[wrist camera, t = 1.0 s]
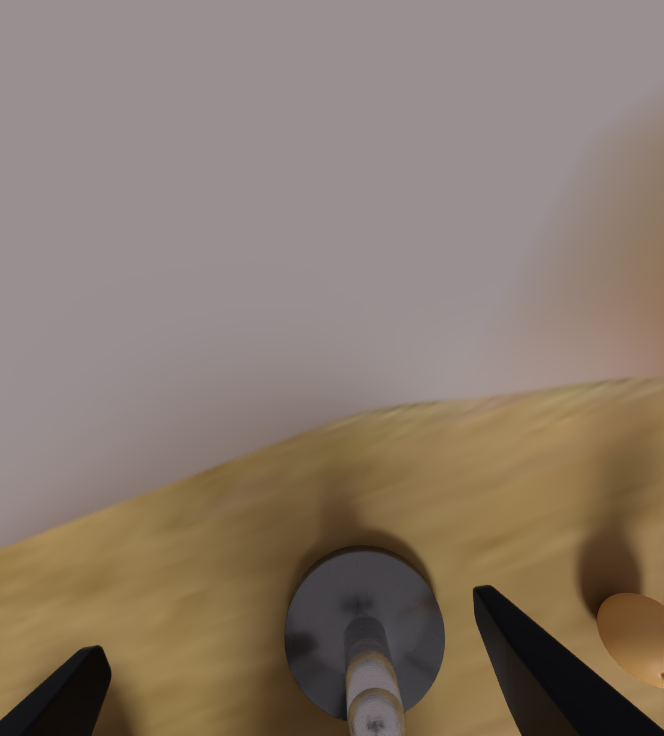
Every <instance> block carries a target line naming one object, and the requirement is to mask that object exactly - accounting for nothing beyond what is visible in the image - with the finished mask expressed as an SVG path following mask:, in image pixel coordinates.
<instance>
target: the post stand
mask: <svg viewBox="0 0 664 736" xmlns="http://www.w3.org/2000/svg"><path fill="white" fill-rule="evenodd" d="M284 637H285V651H286V657H287V661H288V664H289V667H290V670H291V672H292V675H293V677H294V679H295V681H296V682H297V684H298V686H299V687H300V689H301V690H302V691H303V693H304V694H305V695H306V696H307V698H308V699H310V700H311V701H312V702H313V703H314V704H315V705H316V706H317V707H319V708H320V709H321V710H323V711H324V712H326V713H328V714H330V715H332V716H334V717H336V718H339V719H342V720H345V721H348V728H349V732H350V735H351V736H404V734H405V715H404V712H406V711H407V710H409V709H410V708H411V707H413V706H414V705H415V704H416V703H417V702H419V701H420V700H421V699H422V698H423V696H424V695H425V694H426V693H427V691H428V690H429V689H430V687H431V686H432V684H433V682H434V681H435V679H436V676H437V674H438V672H439V670H440V666H441V663H442V660H443V654H444V647H445V631H444V623H443V618H442V614H441V611H440V608H439V605H438V603H437V601H436V599H435V597H434V595H433V593H432V591H431V589H430V587H429V585H428V584H427V582H426V581H425V579H424V577H423V576H422V575H421V574H420V572H419V571H418V570H417V569H416V568H415V567H414V566H413V565H412V564H411V563H409V562H408V561H407V560H405V559H404V558H403V557H401V556H399V555H397V554H395V553H394V552H391V551H389V550H386V549H383V548H379V547H374V546H351V547H346V548H342V549H339V550H336V551H334V552H332V553H330V554H328V555H326V556H324V557H323V558H321V559H320V560H318V561H317V562H316V563H315V564H314V565H313V566H312V567H310V568H309V570H308V571H307V572H306V573H305V574H304V575H303V577H302V578H301V580H300V581H299V583H298V585H297V587H296V589H295V591H294V593H293V595H292V598H291V601H290V605H289V609H288V614H287V619H286V624H285V636H284Z"/></svg>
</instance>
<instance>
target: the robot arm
mask: <svg viewBox="0 0 664 736" xmlns="http://www.w3.org/2000/svg"><path fill="white" fill-rule="evenodd" d="M473 601H474V614H475V619H476V623H477V626H478V629H479V631H480V634H481V637H482V639H483V642H484V645H485V647H486V650H487V653H488V655H489V658H490V660H491V663H492V666H493V668H494V671H495V674H496V676H497V679H498V682H499V684H500V687H501V690H502V692H503V695H504V697H505V700H506V702H507V705H508V707H509V710H510V712H511V714H512V716H513V718H514V721H515V723H516V725H517V727H518V729H519V731H520V733H521V735H522V736H664V730H663V729H662V728H661V727H659V726H658V725H657V724H656V723H655V722H654V721H652V720H651V719H650V718H649V717H648V716H646V715H645V714H644V713H643V712H642V711H640V710H639V709H638V708H637V707H636V706H634V705H633V704H632V703H631V702H630V701H629V700H627V699H626V698H625V697H624V696H623V695H621V694H620V693H619V692H618V691H617V690H615V689H614V688H613V687H612V686H611V685H609V684H608V683H607V682H606V681H605V680H604V679H602V678H601V677H600V676H599V675H598V674H596V673H595V672H594V671H593V670H592V669H590V668H589V667H588V666H587V665H586V664H584V663H583V662H582V661H581V660H580V659H578V658H577V657H576V656H575V655H574V654H573V653H571V652H570V651H569V650H568V649H567V648H565V647H564V646H563V645H562V644H561V643H559V642H558V641H557V640H556V639H555V638H553V637H552V636H551V635H550V634H549V633H548V632H546V631H545V630H544V629H543V628H542V627H540V626H539V625H538V624H537V623H536V622H534V621H533V620H532V619H531V618H530V617H528V616H527V615H526V614H525V613H524V612H523V611H521V610H520V609H519V608H518V607H517V606H515V605H514V604H513V603H512V602H511V601H509V600H508V599H507V598H506V597H505V596H503V595H502V594H501V593H500V592H499V591H498V590H496V589H495V588H494V587H493V586H491V585H483V586H476V587H474V589H473ZM110 681H111V668H110V666H109V663H108V660H107V658H106V655H105V653H104V650H103V648H102V647H101V646H99V645H96V646H90V647H84V648H82V649H80V650H79V651H77V652H76V653H75V654H74V655H73V656H72V657H71V658H69V659H68V660H67V661H66V662H65V663H64V664H63V665H62V666H61V667H59V668H58V669H57V670H56V671H55V672H54V673H53V674H52V675H50V676H49V677H48V678H47V679H46V680H45V681H44V682H43V683H42V684H40V685H39V686H38V687H37V688H36V689H35V690H34V691H33V692H31V693H30V694H29V695H28V696H27V697H26V698H25V699H24V700H22V701H21V702H20V703H19V704H18V705H17V706H16V707H15V708H14V709H12V710H11V711H10V712H9V713H8V714H7V715H6V716H5V717H3V718H2V719H1V720H0V736H91V735H92V732H93V730H94V727H95V724H96V721H97V718H98V716H99V713H100V710H101V707H102V704H103V701H104V699H105V696H106V693H107V690H108V687H109V684H110Z"/></svg>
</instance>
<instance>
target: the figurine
mask: <svg viewBox="0 0 664 736" xmlns="http://www.w3.org/2000/svg"><path fill="white" fill-rule="evenodd" d="M597 626H598V631H599V635H600V637H601V640H602V642H603V644H604V646H605V648H606V649H607V651H608V652H609V654H610V655H611V656H612V658H613V659H614V660H615V661H616V662H617V663H618V664H619V665H620V666H621V667H622V668H623V669H624V670H625V671H627V672H628V673H629V674H631V675H632V676H634V677H635V678H637V679H639V680H640V681H642V682H645V683H647V684H649V685H652V686H655V687H660V688H664V605H662V604H661V603H659V602H657V601H655V600H653V599H651V598H649V597H646V596H643V595H640V594H635V593H618V594H615V595H612V596H610V597H608V598H607V599H606V600H605V601H604V602H603V603H602V604H601V606H600V608H599V611H598V615H597Z"/></svg>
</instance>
